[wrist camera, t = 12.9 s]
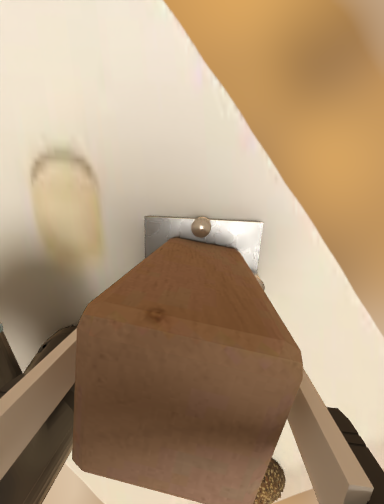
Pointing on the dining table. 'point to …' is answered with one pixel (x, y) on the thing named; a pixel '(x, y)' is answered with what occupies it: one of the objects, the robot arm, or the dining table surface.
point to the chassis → (207, 235)
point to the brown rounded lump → (271, 484)
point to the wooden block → (184, 376)
